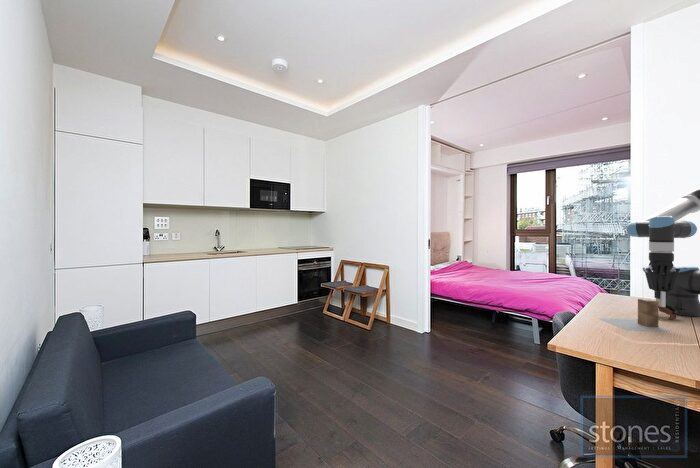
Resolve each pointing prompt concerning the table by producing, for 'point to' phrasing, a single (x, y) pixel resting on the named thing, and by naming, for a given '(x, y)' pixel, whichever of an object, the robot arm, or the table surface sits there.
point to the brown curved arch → (669, 311)
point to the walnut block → (648, 312)
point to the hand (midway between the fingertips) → (660, 306)
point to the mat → (632, 325)
